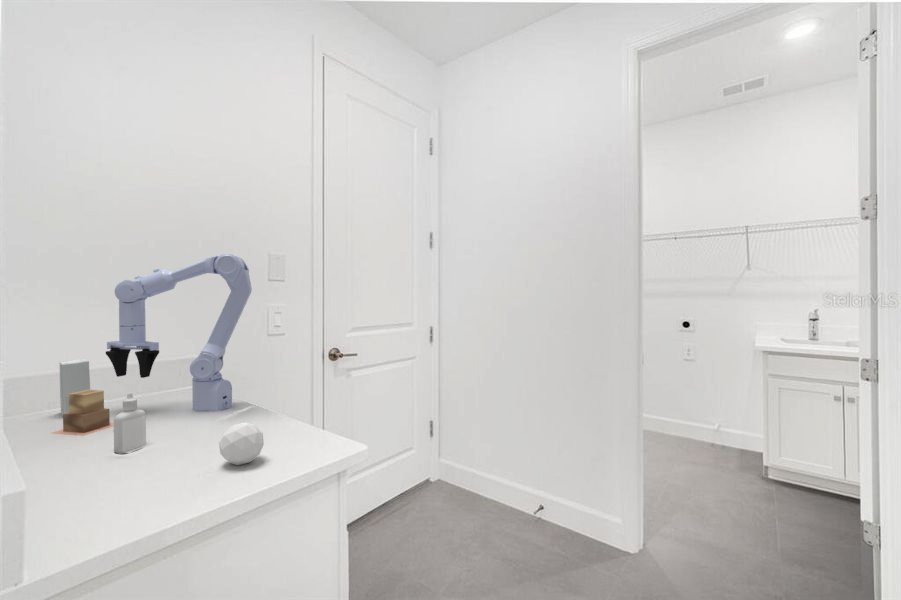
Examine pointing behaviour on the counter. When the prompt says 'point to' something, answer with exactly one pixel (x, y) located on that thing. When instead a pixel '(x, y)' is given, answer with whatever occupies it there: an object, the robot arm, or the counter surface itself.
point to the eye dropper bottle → (129, 427)
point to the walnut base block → (86, 421)
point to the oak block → (86, 401)
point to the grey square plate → (82, 433)
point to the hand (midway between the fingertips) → (133, 376)
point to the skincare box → (73, 380)
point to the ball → (241, 443)
